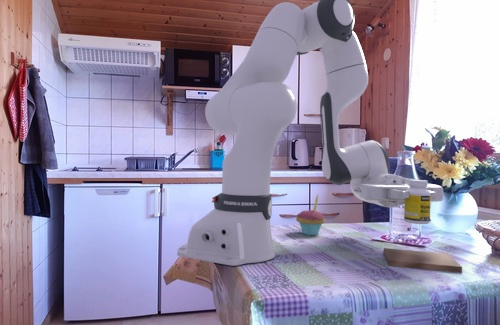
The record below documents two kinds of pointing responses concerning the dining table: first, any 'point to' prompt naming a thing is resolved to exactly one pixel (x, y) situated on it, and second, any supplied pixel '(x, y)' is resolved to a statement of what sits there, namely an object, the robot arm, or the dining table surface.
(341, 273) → the dining table surface
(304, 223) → the cupcake
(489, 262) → the dining table surface
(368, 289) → the dining table surface
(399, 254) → the serving board
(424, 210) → the supplement bottle
